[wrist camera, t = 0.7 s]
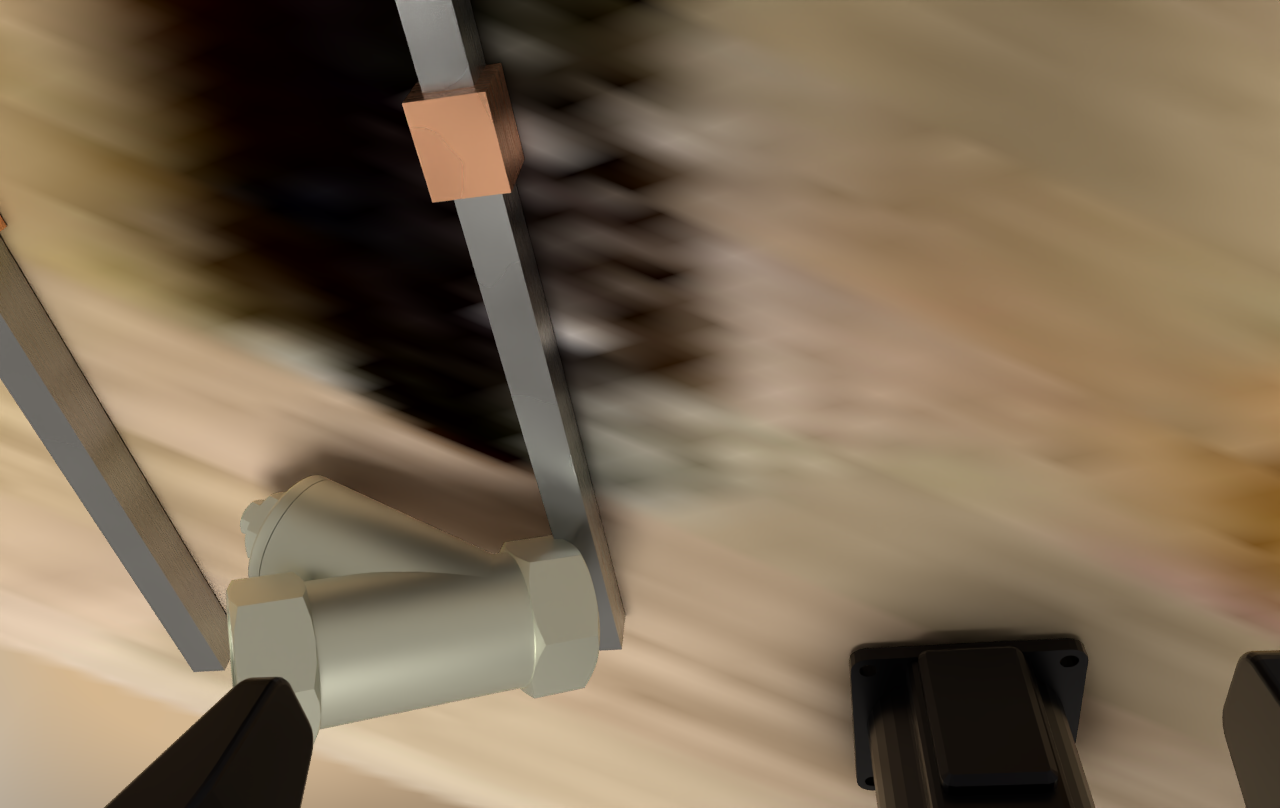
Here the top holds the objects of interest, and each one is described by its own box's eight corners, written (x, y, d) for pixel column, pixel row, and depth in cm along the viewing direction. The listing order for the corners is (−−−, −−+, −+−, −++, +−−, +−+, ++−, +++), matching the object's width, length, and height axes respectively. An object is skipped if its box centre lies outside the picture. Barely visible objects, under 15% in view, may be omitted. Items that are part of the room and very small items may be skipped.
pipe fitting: (218, 565, 27) (243, 786, 22) (211, 452, 24) (237, 672, 20) (507, 526, 30) (583, 710, 25) (524, 424, 28) (611, 606, 23)
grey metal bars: (635, 615, 29) (631, 660, 28) (200, 640, 31) (178, 683, 30) (460, -107, 18) (439, -87, 16) (-200, 7, 20) (-264, 32, 19)
